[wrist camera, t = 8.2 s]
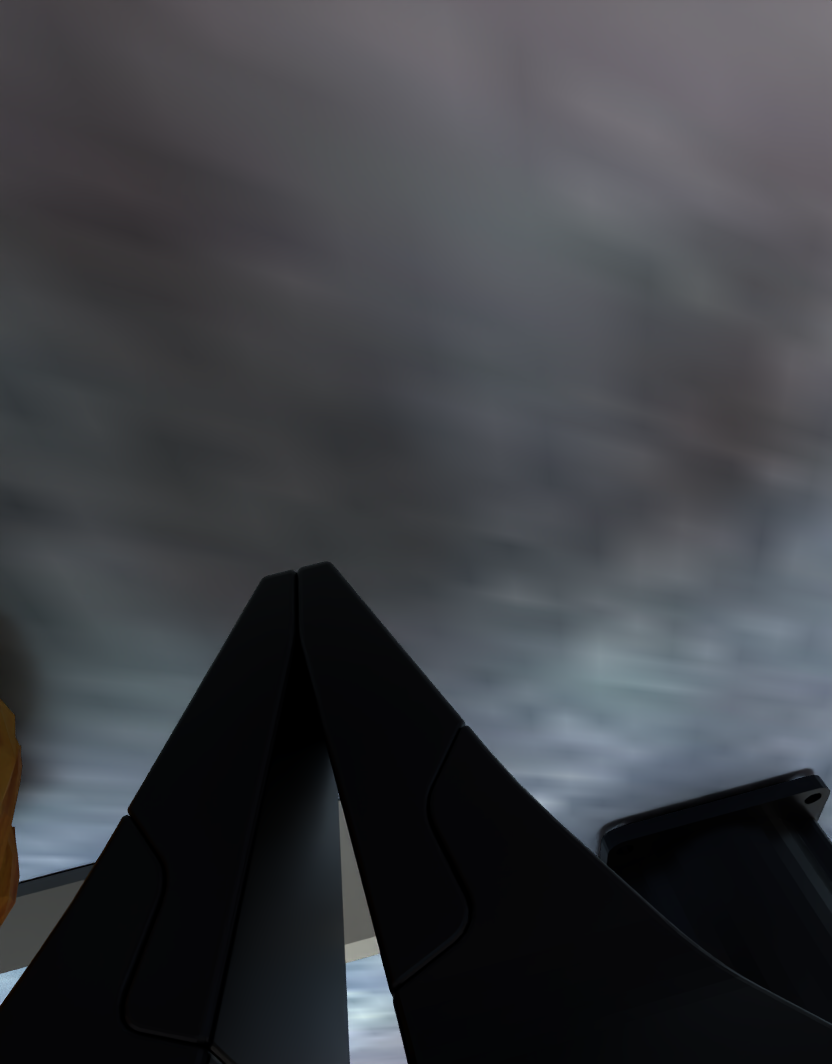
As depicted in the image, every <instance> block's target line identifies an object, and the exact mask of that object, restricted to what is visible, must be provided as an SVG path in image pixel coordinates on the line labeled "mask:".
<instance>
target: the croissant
mask: <svg viewBox="0 0 832 1064" xmlns="http://www.w3.org/2000/svg"><path fill="white" fill-rule="evenodd" d="M21 773H22V760H21V746H20V745H19V743H18V741H17V739H16V737H15V715H14V714H13V713H12V712H11V710H10V709H9V708H8V707H7V706H6V705H5V703H4V702H3V701H2V700H1V699H0V927H1V925H2V924H3V922H4V920H5V919H6V917H7V916H8V914H9V912H10V911H11V909H12V908H13V906H14V904H15V902H16V896H17V889H18V883H19V877H20V875H19V863H18V853H17V846H16V838H15V827H12V820H13V815H14V810H15V805H16V801H17V796H18V791H19V786H20V781H21Z"/></svg>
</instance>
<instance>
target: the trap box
mask: <svg viewBox="0 0 832 1064" xmlns="http://www.w3.org/2000/svg"><path fill="white" fill-rule="evenodd" d="M338 803H339V826H340V849H341V872H342V895H343V918H344V941H345V963H348V962H351V961H355V960H359V959H362V958H366V957H369V956H373V955H377V954H380V951H379V947H378V943H377V940H376V936H375V932H374V928H373V924H372V920H371V916H370V913H369V909H368V905H367V901H366V897H365V893H364V889H363V886H362V882H361V878H360V874H359V870H358V866H357V863H356V859H355V855H354V851H353V847H352V843H351V839H350V836H349V832H348V828H347V824H346V820H345V816H344V813H343V809H342V805H341V801H338ZM93 866H94V865H90V866H86V867H82V868H79V869H75V870H71V871H67V872H63V873H59V874H55V875H52V876H48V877H44V878H40V879H36V880H32V881H28V882H25V883H21V884H18V889H17V896H16V902H15V904H14V906H13V908H12V909H11V911H10V912H9V914H8V916H7V917H6V919H5V920H4V922H3V924H2V925H1V927H0V974H1V973H5V972H8V971H12V970H16V969H19V968H23V967H27V966H29V964H30V963H31V961H32V960H33V958H34V957H35V955H36V954H37V952H38V951H39V949H40V948H41V946H42V945H43V943H44V942H45V940H46V939H47V937H48V936H49V934H50V933H51V931H52V930H53V928H54V927H55V926H56V924H57V923H58V921H59V920H60V918H61V917H62V915H63V914H64V912H65V911H66V909H67V908H68V906H69V905H70V903H71V902H72V900H73V898H74V897H75V895H76V894H77V892H78V890H79V889H80V887H81V885H82V884H83V882H84V881H85V879H86V877H87V876H88V874H89V872H90V871H91V869H92V868H93Z"/></svg>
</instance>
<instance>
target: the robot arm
mask: <svg viewBox="0 0 832 1064" xmlns="http://www.w3.org/2000/svg"><path fill="white" fill-rule="evenodd" d="M338 793H339V797H340V801H341V805H342V809H343V813H344V816H345V820H346V824H347V828H348V832H349V836H350V839H351V843H352V847H353V851H354V855H355V859H356V863H357V866H358V870H359V874H360V878H361V882H362V886H363V889H364V893H365V897H366V901H367V905H368V909H369V913H370V916H371V920H372V924H373V928H374V932H375V936H376V940H377V943H378V947H379V951H380V955H381V959H382V963H383V966H384V970H385V974H386V978H387V982H388V986H389V990H390V992H391V994H392V996H393V1005H394V1009H395V1013H396V1017H397V1021H398V1025H399V1029H400V1033H401V1037H402V1041H403V1045H404V1049H405V1054H406V1058H407V1063H408V1064H832V842H831V841H830V839H829V838H828V837H827V835H826V834H825V832H824V831H823V830H822V828H821V827H820V825H819V824H818V823H817V821H818V819H819V816H820V814H821V812H822V810H823V808H824V805H825V803H826V801H827V799H828V797H829V795H830V790H829V788H828V787H827V786H826V784H825V783H824V782H823V780H822V779H821V778H820V777H819V776H817V775H810V776H806V777H802V778H798V779H795V780H791V781H787V782H784V783H780V784H776V785H772V786H769V787H765V788H761V789H758V790H754V791H750V792H747V793H743V794H739V795H736V796H732V797H728V798H725V799H721V800H717V801H714V802H710V803H706V804H702V805H699V806H695V807H691V808H688V809H684V810H680V811H677V812H673V813H669V814H666V815H662V816H658V817H655V818H651V819H647V820H644V821H640V822H636V823H632V824H629V825H625V826H621V827H618V828H616V829H613V830H611V831H610V832H608V833H607V834H606V835H605V836H604V837H603V839H602V841H601V854H600V859H599V858H598V857H597V856H596V855H595V854H594V853H593V852H592V851H591V850H590V849H588V848H587V847H586V846H585V845H584V844H583V843H582V842H581V841H580V840H578V839H577V838H576V837H575V836H574V835H573V834H572V833H571V832H570V831H569V830H567V829H566V828H565V827H564V826H563V825H562V824H561V823H560V822H559V821H557V820H556V819H555V818H554V817H553V816H552V815H551V814H550V813H549V812H548V811H547V810H546V809H545V808H544V807H543V806H542V805H541V804H540V803H539V802H538V801H537V800H536V799H535V798H534V797H533V796H532V795H531V794H530V793H529V792H527V791H526V790H525V789H524V788H523V787H522V786H521V785H520V784H519V783H518V782H517V780H516V779H515V778H514V777H513V776H512V775H511V774H510V773H509V772H508V771H507V769H506V768H505V767H504V766H503V765H502V764H501V763H500V762H499V761H498V760H497V758H496V757H495V756H494V755H493V754H492V753H491V752H490V751H489V750H488V748H487V747H486V746H485V745H484V744H483V742H482V741H481V740H480V739H479V738H478V737H477V735H476V734H475V733H474V732H473V731H472V729H471V728H470V727H469V726H465V722H464V720H463V719H462V718H461V717H460V716H459V714H458V713H457V712H456V711H455V710H454V708H453V707H452V706H451V705H450V704H449V703H448V701H447V700H446V699H445V698H444V697H443V695H442V694H441V693H440V692H439V691H438V689H437V688H436V687H435V686H434V685H433V683H432V682H431V681H430V680H429V679H428V677H427V676H426V675H425V674H424V673H423V672H422V670H421V669H420V668H419V667H418V666H417V664H416V663H415V662H414V661H413V660H412V658H411V657H410V656H409V655H408V654H407V652H406V651H405V650H404V649H403V648H402V646H401V645H400V644H399V643H398V642H397V641H396V639H395V638H394V637H393V636H392V635H391V633H390V632H389V631H388V630H387V629H386V627H385V626H384V625H383V624H382V623H381V621H380V620H379V619H378V618H377V617H376V615H375V614H374V613H373V612H372V611H371V610H370V608H369V607H368V606H367V605H366V604H365V602H364V601H363V600H362V599H361V598H360V596H359V595H358V594H357V593H356V592H355V590H354V589H353V588H352V587H351V586H350V584H349V583H348V582H347V581H346V580H345V579H344V577H343V576H342V575H341V574H340V573H339V571H338V570H337V569H336V568H335V567H334V565H333V564H331V563H330V562H321V563H317V564H313V565H309V566H305V567H302V568H300V569H299V570H298V573H297V572H295V571H294V570H289V571H285V572H281V573H277V574H272V575H268V576H266V577H264V578H263V579H262V580H261V581H260V583H259V585H258V586H257V588H256V590H255V591H254V593H253V595H252V597H251V598H250V600H249V602H248V603H247V605H246V607H245V609H244V610H243V612H242V614H241V615H240V617H239V619H238V621H237V622H236V624H235V626H234V627H233V629H232V631H231V633H230V634H229V636H228V638H227V639H226V641H225V643H224V645H223V646H222V648H221V650H220V651H219V653H218V655H217V657H216V658H215V660H214V662H213V663H212V665H211V667H210V669H209V670H208V672H207V674H206V675H205V677H204V679H203V681H202V682H201V684H200V686H199V687H198V689H197V691H196V693H195V694H194V696H193V698H192V699H191V701H190V703H189V705H188V706H187V708H186V710H185V711H184V713H183V715H182V717H181V718H180V720H179V722H178V723H177V725H176V727H175V729H174V730H173V732H172V734H171V735H170V737H169V739H168V741H167V742H166V744H165V746H164V747H163V749H162V751H161V753H160V754H159V756H158V758H157V759H156V761H155V763H154V765H153V766H152V768H151V770H150V771H149V773H148V775H147V777H146V778H145V780H144V782H143V783H142V785H141V787H140V789H139V790H138V792H137V794H136V795H135V797H134V799H133V801H132V802H131V804H130V806H129V807H128V813H129V815H130V816H131V817H130V816H129V815H126V816H123V817H122V819H121V821H120V822H119V824H118V826H117V827H116V829H115V831H114V833H113V834H112V836H111V838H110V839H109V841H108V843H107V844H106V846H105V848H104V850H103V851H102V853H101V855H100V856H99V858H98V859H97V861H96V863H95V864H94V866H93V868H92V869H91V871H90V872H89V874H88V876H87V877H86V879H85V881H84V882H83V884H82V885H81V887H80V889H79V890H78V892H77V894H76V895H75V897H74V898H73V900H72V902H71V903H70V905H69V906H68V908H67V909H66V911H65V912H64V914H63V915H62V917H61V918H60V920H59V921H58V923H57V924H56V926H55V927H54V928H53V930H52V931H51V933H50V934H49V936H48V937H47V939H46V940H45V942H44V943H43V945H42V946H41V948H40V949H39V951H38V952H37V954H36V955H35V957H34V958H33V960H32V961H31V963H30V964H29V966H28V967H27V968H26V970H25V971H24V973H23V974H22V976H21V977H20V978H19V980H18V981H17V983H16V984H15V985H14V987H13V988H12V990H11V991H10V993H9V994H8V995H7V997H6V998H5V1000H4V1001H3V1003H2V1004H1V1005H0V1064H350V1057H349V1034H348V1010H347V987H346V964H345V941H344V918H343V895H342V872H341V849H340V826H339V803H338Z"/></svg>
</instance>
